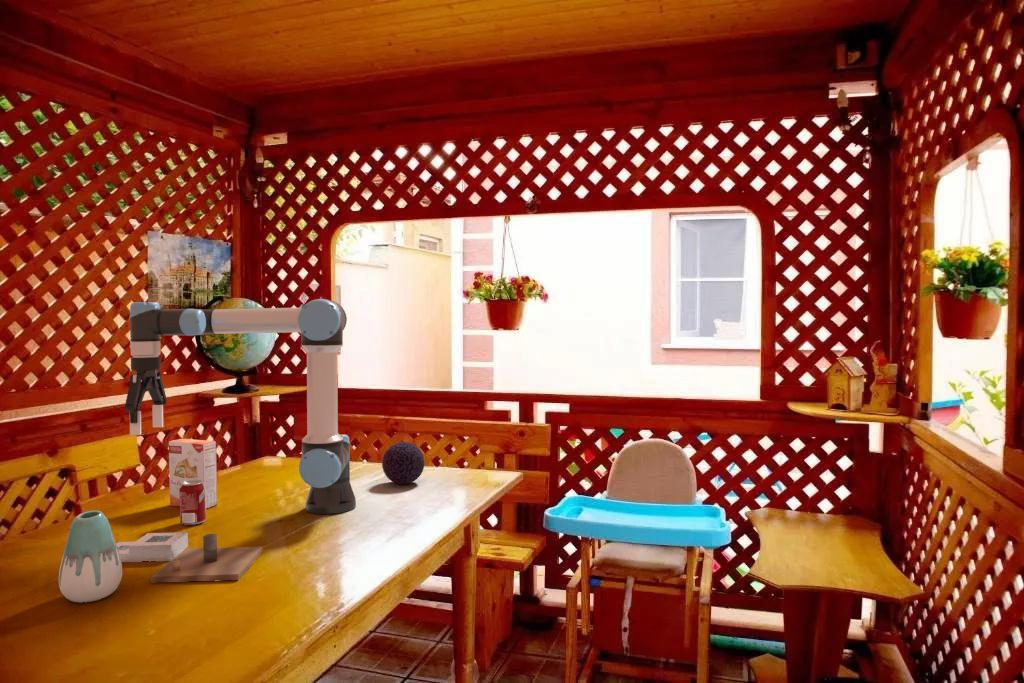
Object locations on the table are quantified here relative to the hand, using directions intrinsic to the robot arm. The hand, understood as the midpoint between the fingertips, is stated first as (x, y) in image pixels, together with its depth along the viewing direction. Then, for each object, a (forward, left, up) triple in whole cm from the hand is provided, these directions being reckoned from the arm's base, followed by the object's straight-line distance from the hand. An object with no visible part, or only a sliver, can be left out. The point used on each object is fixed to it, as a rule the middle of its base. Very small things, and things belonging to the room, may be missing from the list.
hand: (147, 430), depth 197 cm
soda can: (-12, -2, -28) cm, 30 cm away
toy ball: (-69, -45, -28) cm, 86 cm away
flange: (-10, +25, -27) cm, 39 cm away
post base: (-30, +35, -27) cm, 54 cm away
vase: (-11, +51, -28) cm, 59 cm away
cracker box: (-5, -21, -28) cm, 35 cm away
